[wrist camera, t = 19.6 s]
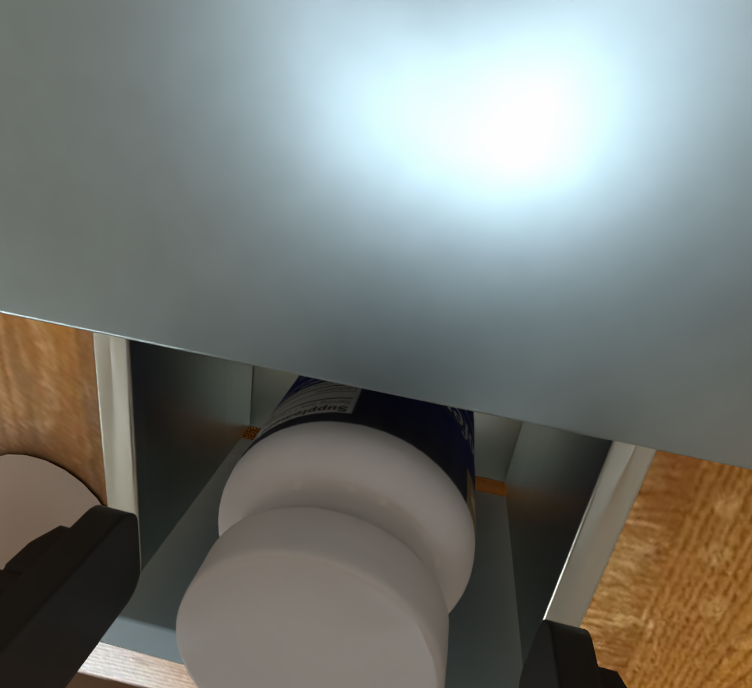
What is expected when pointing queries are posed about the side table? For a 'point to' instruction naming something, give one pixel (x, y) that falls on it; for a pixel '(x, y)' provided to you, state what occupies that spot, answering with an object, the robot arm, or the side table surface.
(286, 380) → the drawer
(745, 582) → the side table surface
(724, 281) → the drawer cabinet
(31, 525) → the cup
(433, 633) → the pill bottle
